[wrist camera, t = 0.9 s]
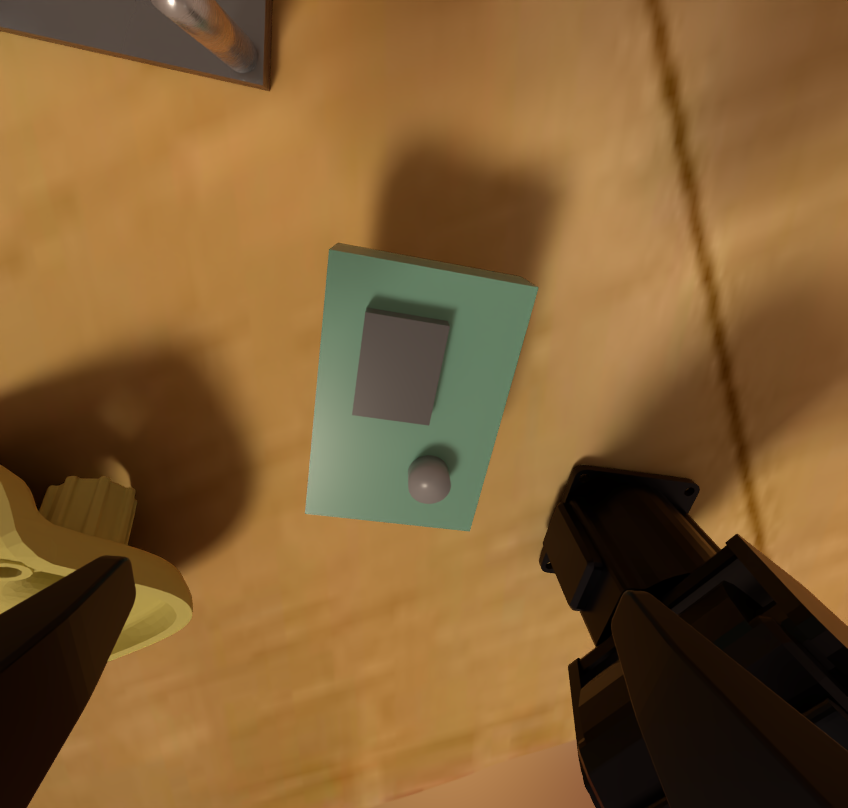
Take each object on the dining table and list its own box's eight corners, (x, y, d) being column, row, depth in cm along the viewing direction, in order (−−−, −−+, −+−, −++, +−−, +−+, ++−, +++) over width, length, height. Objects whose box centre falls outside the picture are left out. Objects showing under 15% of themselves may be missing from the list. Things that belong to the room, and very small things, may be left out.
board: (520, 276, 15) (546, 292, 12) (462, 498, 18) (473, 546, 16) (338, 242, 14) (325, 252, 11) (314, 481, 18) (300, 528, 15)
